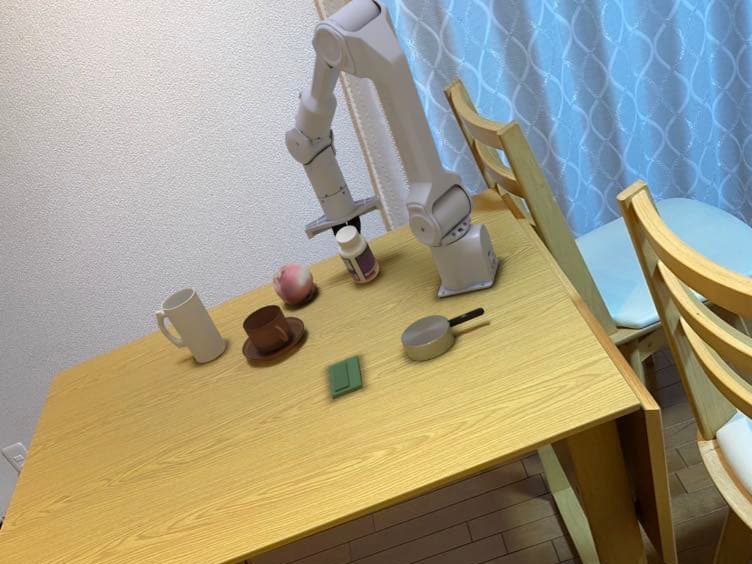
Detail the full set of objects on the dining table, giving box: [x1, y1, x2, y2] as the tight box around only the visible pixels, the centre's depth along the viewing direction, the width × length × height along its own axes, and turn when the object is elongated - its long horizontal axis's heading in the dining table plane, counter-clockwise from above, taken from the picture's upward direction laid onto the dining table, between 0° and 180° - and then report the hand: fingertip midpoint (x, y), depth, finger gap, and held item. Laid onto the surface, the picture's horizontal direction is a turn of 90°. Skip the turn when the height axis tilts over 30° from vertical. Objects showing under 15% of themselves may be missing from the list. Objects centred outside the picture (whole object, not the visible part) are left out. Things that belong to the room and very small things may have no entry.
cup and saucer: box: [241, 304, 305, 362], centre depth 151 cm, size 12×12×6 cm
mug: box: [154, 286, 227, 364], centre depth 157 cm, size 10×7×12 cm, turn 84°
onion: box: [272, 263, 318, 306], centre depth 160 cm, size 8×8×7 cm
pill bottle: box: [335, 226, 380, 284], centre depth 154 cm, size 5×5×10 cm
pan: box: [400, 307, 485, 362], centre depth 134 cm, size 14×8×3 cm, turn 97°
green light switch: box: [328, 354, 363, 400], centre depth 137 cm, size 5×9×1 cm, turn 7°
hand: (360, 257), depth 160 cm, fingers closed, pressing on pill bottle
